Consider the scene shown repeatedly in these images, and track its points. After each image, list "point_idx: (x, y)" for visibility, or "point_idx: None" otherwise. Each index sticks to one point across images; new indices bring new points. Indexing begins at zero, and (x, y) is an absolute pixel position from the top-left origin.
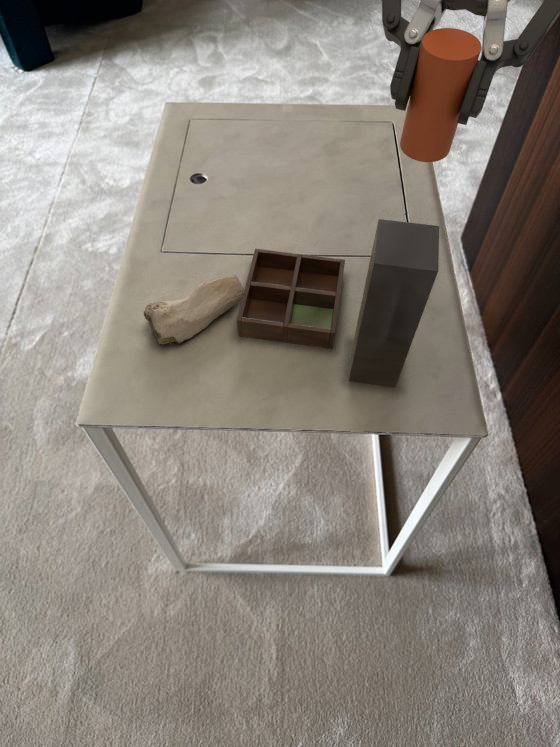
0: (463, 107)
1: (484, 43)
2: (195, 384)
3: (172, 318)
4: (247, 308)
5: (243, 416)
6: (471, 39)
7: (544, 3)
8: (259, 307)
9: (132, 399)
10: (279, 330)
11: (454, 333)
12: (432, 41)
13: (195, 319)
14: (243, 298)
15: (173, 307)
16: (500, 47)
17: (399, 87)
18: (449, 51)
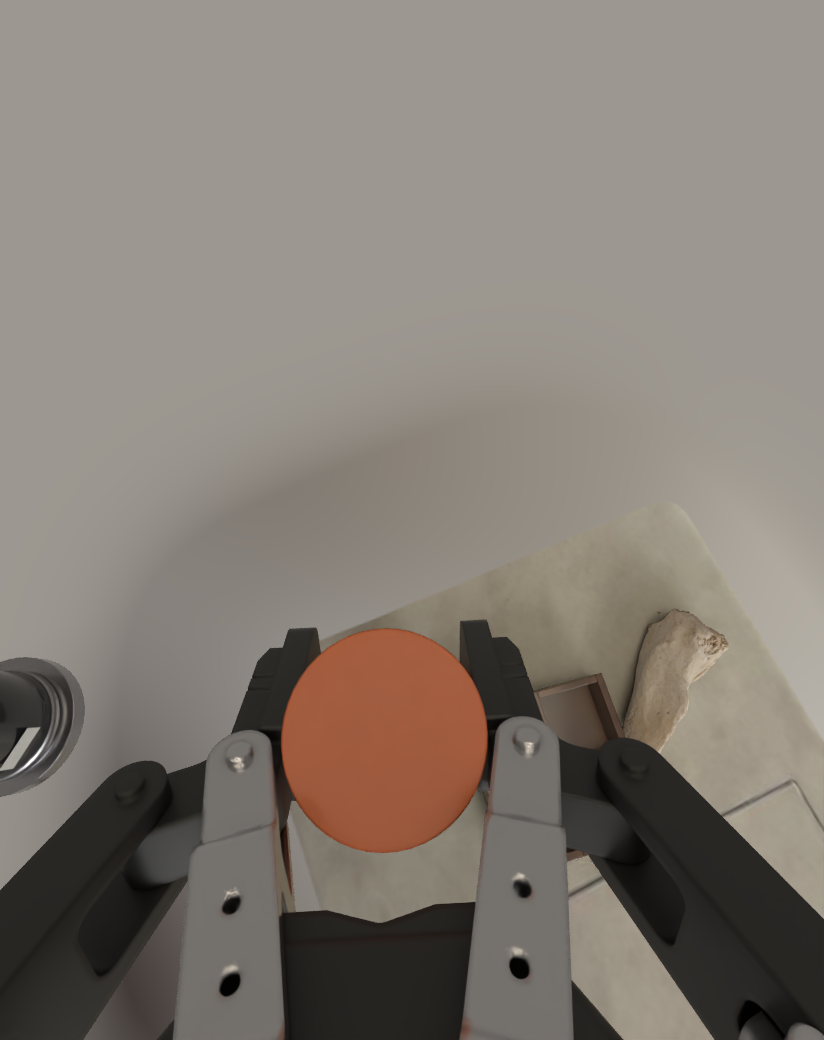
0: (307, 635)
1: (273, 770)
2: (594, 583)
3: (680, 635)
4: (602, 716)
5: (518, 568)
6: (323, 793)
7: (12, 960)
8: (589, 734)
9: (646, 535)
10: (539, 690)
11: (302, 823)
12: (449, 717)
13: (653, 653)
14: (615, 716)
15: (692, 650)
16: (214, 764)
17: (489, 635)
18: (378, 674)
